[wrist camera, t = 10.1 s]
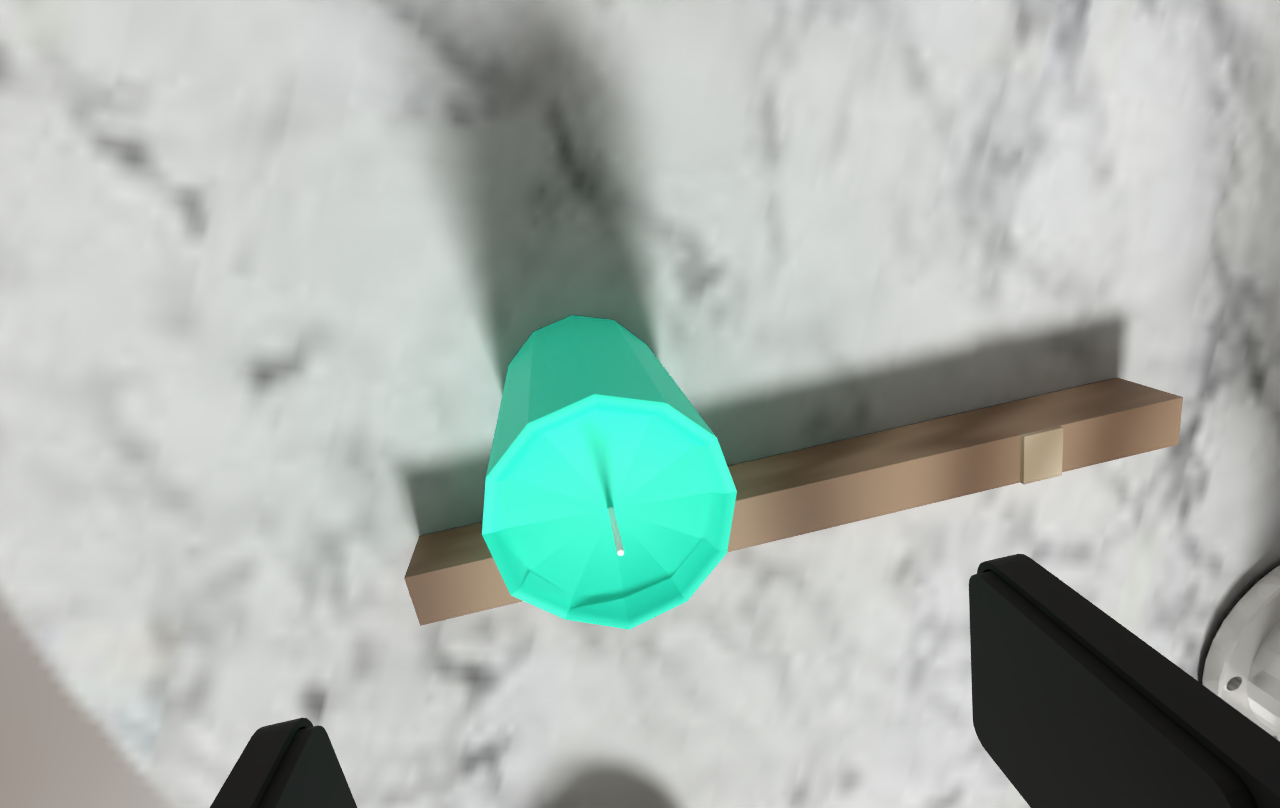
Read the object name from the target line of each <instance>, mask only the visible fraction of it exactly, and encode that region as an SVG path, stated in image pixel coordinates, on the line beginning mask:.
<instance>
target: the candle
mask: <svg viewBox="0 0 1280 808" xmlns="http://www.w3.org/2000/svg"><path fill="white" fill-rule="evenodd" d="M736 494H737V490H736V488H735V485H734V482H733V480H732V477H731V474H730V472H729V469H728V466H727V463H726V461H725V458H724V455H723V453H722V450H721V447H720V445H719V442H718V439H717V437H716V436H715V435H714V433H713V432H712V431H711V429H710V428H709V427H708V425H707V424H706V423H705V421H704V420H703V419H702V417H701V416H700V415H699V413H698V412H697V411H696V409H695V408H694V407H693V405H692V404H691V403H690V401H689V400H688V399H687V397H686V396H685V395H684V393H683V392H682V391H681V389H680V388H679V387H678V385H677V384H676V383H675V381H674V380H673V379H672V377H671V376H670V375H669V374H668V372H667V371H666V370H665V368H664V367H663V366H662V364H661V363H660V362H659V360H658V359H657V358H656V356H655V355H654V354H653V352H652V351H651V350H650V348H649V347H648V346H647V344H645V343H644V342H643V341H641V340H640V339H639V338H637V337H636V336H635V335H633V334H632V333H631V332H629V331H628V330H627V329H625V328H624V327H623V326H621V325H620V324H619V323H617V322H616V321H615V320H610V319H602V318H593V317H584V316H576V315H571V316H569V317H566V318H564V319H562V320H559V321H557V322H555V323H552V324H550V325H548V326H545V327H543V328H541V329H538V330H536V331H534V332H533V333H532V334H531V335H530V337H529V338H528V339H527V341H526V342H525V344H524V345H523V346H522V348H521V349H520V350H519V352H518V353H517V354H516V356H515V357H514V358H513V360H512V361H511V362H510V364H509V365H508V370H507V375H506V380H505V385H504V390H503V395H502V400H501V405H500V410H499V415H498V420H497V425H496V429H495V434H494V439H493V444H492V449H491V454H490V459H489V464H488V469H487V474H486V481H485V496H484V510H483V525H482V536H483V538H484V540H485V542H486V544H487V546H488V548H489V551H490V553H491V555H492V557H493V559H494V561H495V563H496V565H497V567H498V570H499V572H500V574H501V576H502V578H503V580H504V582H505V584H506V586H507V589H508V591H509V593H510V595H511V596H513V597H516V598H518V599H520V600H522V601H525V602H527V603H529V604H531V605H534V606H536V607H538V608H540V609H543V610H545V611H547V612H549V613H552V614H554V615H556V616H558V617H561V618H563V619H566V620H572V621H579V622H585V623H592V624H598V625H604V626H611V627H617V628H624V629H631V628H633V627H635V626H637V625H639V624H642V623H644V622H646V621H648V620H650V619H652V618H654V617H656V616H658V615H660V614H662V613H664V612H666V611H668V610H670V609H672V608H674V607H676V606H678V605H680V604H682V603H684V602H687V601H688V600H689V598H690V597H691V596H692V595H693V594H694V592H695V591H696V590H697V589H698V588H699V586H700V585H701V584H702V583H703V581H704V580H705V579H706V578H707V577H708V575H709V574H710V573H711V572H712V570H713V569H714V568H715V567H716V566H717V564H718V563H719V562H720V561H721V560H722V558H723V557H724V556H725V555H726V553H727V550H728V544H729V537H730V531H731V525H732V519H733V513H734V507H735V501H736Z"/></svg>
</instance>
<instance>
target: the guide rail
mask: <svg viewBox="0 0 1280 808" xmlns="http://www.w3.org/2000/svg"><path fill="white" fill-rule="evenodd" d="M1182 400H1183V397H1180V396H1177V395H1174V394H1170V393H1167V392H1164V391H1160V390H1157V389H1154V388H1150V387H1147V386H1144V385H1140V384H1137V383H1134V382H1130V381H1127V380H1124V379H1120V378H1114V379H1110V380H1105V381H1101V382H1096V383H1092V384H1088V385H1083V386H1079V387H1074V388H1070V389H1065V390H1061V391H1057V392H1052V393H1048V394H1043V395H1039V396H1035V397H1030V398H1026V399H1021V400H1017V401H1013V402H1008V403H1004V404H999V405H995V406H991V407H986V408H982V409H977V410H973V411H969V412H964V413H960V414H955V415H951V416H947V417H942V418H938V419H933V420H929V421H925V422H920V423H916V424H911V425H907V426H903V427H898V428H894V429H889V430H885V431H881V432H876V433H872V434H867V435H863V436H859V437H854V438H850V439H845V440H841V441H837V442H832V443H828V444H823V445H819V446H815V447H810V448H806V449H801V450H797V451H793V452H788V453H784V454H779V455H775V456H771V457H766V458H762V459H757V460H753V461H749V462H744V463H740V464H735V465H731V466H728V469H729V472H730V474H731V477H732V480H733V482H734V485H735V488H736V490H737V494H736V501H735V507H734V513H733V519H732V525H731V531H730V537H729V544H728V550H727V552H730V551H734V550H739V549H743V548H747V547H751V546H755V545H760V544H764V543H768V542H772V541H776V540H780V539H785V538H789V537H793V536H797V535H801V534H806V533H810V532H814V531H818V530H822V529H826V528H831V527H835V526H839V525H843V524H847V523H852V522H856V521H860V520H864V519H868V518H873V517H877V516H881V515H885V514H889V513H893V512H898V511H902V510H906V509H910V508H914V507H919V506H923V505H927V504H931V503H935V502H939V501H944V500H948V499H952V498H956V497H960V496H965V495H969V494H973V493H977V492H981V491H985V490H990V489H994V488H998V487H1002V486H1006V485H1011V484H1015V483H1019V482H1021V483H1022V484H1027V483H1031V482H1036V481H1040V480H1044V479H1048V478H1052V477H1056V476H1061V475H1062V472H1065V471H1069V470H1073V469H1078V468H1082V467H1086V466H1090V465H1094V464H1098V463H1103V462H1107V461H1111V460H1115V459H1119V458H1124V457H1128V456H1132V455H1136V454H1140V453H1144V452H1149V451H1153V450H1157V449H1161V448H1165V447H1170V446H1174V445H1178V442H1179V431H1180V421H1181V410H1182ZM482 525H483V522H480V523H476V524H471V525H467V526H462V527H458V528H454V529H449V530H445V531H440V532H436V533H432V534H427V535H423V536H419V539H418V542H417V544H416V547H415V550H414V553H413V555H412V558H411V561H410V564H409V567H408V569H407V572H406V575H405V581H406V584H407V587H408V590H409V593H410V596H411V599H412V602H413V605H414V608H415V611H416V614H417V617H418V620H419V623H420V626H421V625H425V624H429V623H433V622H437V621H442V620H446V619H450V618H454V617H458V616H462V615H467V614H471V613H475V612H479V611H483V610H488V609H492V608H496V607H500V606H504V605H508V604H513V603H517V602H521V601H522V600H520V599H518V598H516V597H513V596H511V595H510V593H509V591H508V589H507V586H506V584H505V582H504V580H503V578H502V576H501V574H500V572H499V570H498V567H497V565H496V563H495V561H494V559H493V557H492V555H491V553H490V551H489V548H488V546H487V544H486V542H485V540H484V538H483V536H482Z"/></svg>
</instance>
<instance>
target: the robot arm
mask: <svg viewBox="0 0 1280 808" xmlns="http://www.w3.org/2000/svg"><path fill="white" fill-rule="evenodd" d="M969 603H970V637H971V671H972V705H973V723H974V728H975V731H976V734H977V736H978V738H979V740H980V742H981V744H982V746H983V747H984V749H985V750H986V751H987V753H988V754H989V755H990V756H991V758H992V759H993V760H994V761H995V763H996V764H997V765H998V766H999V768H1000V769H1001V770H1002V772H1003V773H1004V774H1005V775H1006V777H1007V778H1008V779H1009V780H1010V782H1011V783H1012V784H1013V785H1014V787H1015V788H1016V789H1017V791H1018V792H1019V793H1020V794H1021V796H1022V797H1023V798H1024V799H1025V801H1026V802H1027V803H1028V804H1029V806H1030V807H1031V808H1280V565H1279V566H1277V567H1276V568H1274V569H1273V570H1272V571H1270V572H1269V573H1268V574H1267V575H1265V576H1264V577H1263V578H1262V579H1260V580H1259V581H1258V582H1257V583H1255V584H1254V585H1253V586H1252V587H1251V588H1250V589H1249V590H1248V592H1247V593H1246V594H1245V595H1244V596H1243V597H1242V598H1241V599H1240V600H1239V601H1238V602H1237V603H1236V605H1235V606H1234V607H1233V609H1232V610H1231V611H1230V613H1229V614H1228V615H1227V617H1226V618H1225V619H1224V621H1223V623H1222V624H1221V626H1220V628H1219V630H1218V632H1217V633H1216V635H1215V637H1214V639H1213V641H1212V644H1211V646H1210V649H1209V652H1208V654H1207V657H1206V660H1205V666H1204V672H1203V678H1202V681H1203V685H1202V684H1201V683H1200V682H1198V681H1197V680H1195V679H1194V678H1193V677H1191V676H1190V675H1189V674H1187V673H1186V672H1185V671H1183V670H1182V669H1181V668H1179V667H1178V666H1176V665H1175V664H1174V663H1172V662H1171V661H1170V660H1168V659H1167V658H1166V657H1164V656H1163V655H1161V654H1160V653H1159V652H1157V651H1156V650H1155V649H1153V648H1152V647H1151V646H1149V645H1148V644H1147V643H1145V642H1144V641H1142V640H1141V639H1140V638H1138V637H1137V636H1136V635H1134V634H1133V633H1132V632H1130V631H1129V630H1127V629H1126V628H1125V627H1123V626H1122V625H1121V624H1119V623H1118V622H1117V621H1115V620H1114V619H1113V618H1111V617H1110V616H1108V615H1107V614H1106V613H1104V612H1103V611H1102V610H1100V609H1099V608H1098V607H1096V606H1095V605H1093V604H1092V603H1091V602H1089V601H1088V600H1087V599H1085V598H1084V597H1083V596H1081V595H1080V594H1079V593H1077V592H1076V591H1074V590H1073V589H1072V588H1070V587H1069V586H1068V585H1066V584H1065V583H1064V582H1062V581H1061V580H1059V579H1058V578H1057V577H1055V576H1054V575H1053V574H1051V573H1050V572H1049V571H1047V570H1046V569H1045V568H1043V567H1042V566H1040V565H1039V564H1038V563H1036V562H1035V561H1034V560H1032V559H1031V558H1029V557H1028V556H1026V555H1024V554H1016V555H1011V556H1007V557H1003V558H998V559H994V560H990V561H985V562H983V563H981V564H980V565H979V567H978V571H977V574H975V575H973V576H971V578H970V580H969ZM210 808H357V806H356V803H355V801H354V798H353V796H352V794H351V791H350V789H349V786H348V784H347V781H346V779H345V776H344V774H343V771H342V769H341V766H340V764H339V761H338V759H337V757H336V754H335V752H334V749H333V747H332V744H331V742H330V739H329V737H328V734H327V732H326V731H325V729H324V728H323V727H322V726H313V725H312V723H311V721H309V720H308V719H307V718H299V719H295V720H291V721H286V722H282V723H277V724H273V725H269V726H264V727H261V728H260V729H258V730H257V731H256V732H255V733H254V735H253V736H252V737H251V739H250V741H249V742H248V744H247V746H246V747H245V749H244V751H243V753H242V754H241V756H240V758H239V759H238V761H237V763H236V764H235V766H234V768H233V769H232V771H231V773H230V775H229V776H228V778H227V780H226V781H225V783H224V785H223V786H222V788H221V790H220V791H219V793H218V795H217V796H216V798H215V800H214V802H213V803H212V805H211V807H210Z"/></svg>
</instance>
